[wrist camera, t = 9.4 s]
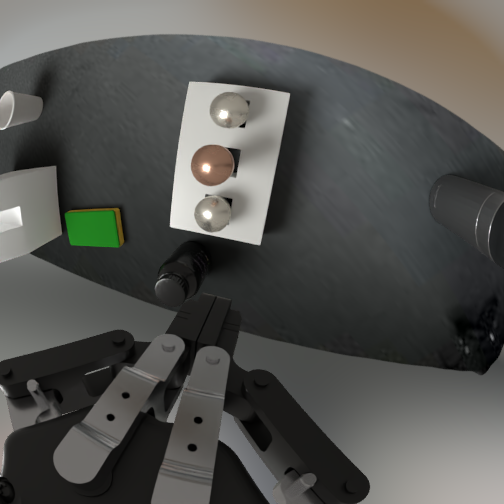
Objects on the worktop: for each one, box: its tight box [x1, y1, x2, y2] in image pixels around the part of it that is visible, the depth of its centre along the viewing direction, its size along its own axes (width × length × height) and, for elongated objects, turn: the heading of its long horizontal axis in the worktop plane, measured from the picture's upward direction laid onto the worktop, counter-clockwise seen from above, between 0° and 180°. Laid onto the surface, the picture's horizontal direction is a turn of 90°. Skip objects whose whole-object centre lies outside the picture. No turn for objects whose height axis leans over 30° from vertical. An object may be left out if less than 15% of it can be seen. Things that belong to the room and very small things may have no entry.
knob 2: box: [194, 195, 231, 232], centre depth 38 cm, size 5×5×6 cm
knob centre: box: [191, 145, 234, 186], centre depth 32 cm, size 5×5×6 cm
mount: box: [170, 82, 290, 245], centre depth 38 cm, size 14×22×5 cm, turn 170°
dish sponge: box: [65, 208, 124, 247], centre depth 47 cm, size 7×14×2 cm, turn 90°
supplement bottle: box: [155, 242, 211, 307], centre depth 42 cm, size 7×7×12 cm
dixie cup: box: [0, 91, 43, 130], centre depth 34 cm, size 8×8×10 cm
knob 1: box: [210, 92, 249, 129], centre depth 32 cm, size 5×5×6 cm
